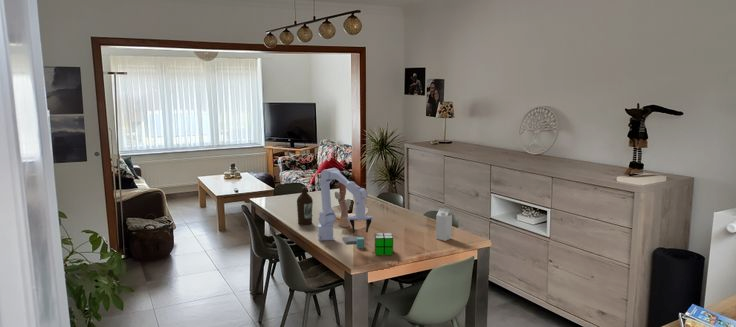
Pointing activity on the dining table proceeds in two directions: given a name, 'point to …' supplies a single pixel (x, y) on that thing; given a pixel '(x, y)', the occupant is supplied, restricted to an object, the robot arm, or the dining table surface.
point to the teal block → (360, 242)
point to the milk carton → (443, 224)
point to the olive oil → (304, 208)
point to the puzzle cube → (383, 244)
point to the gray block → (350, 239)
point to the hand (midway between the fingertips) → (360, 232)
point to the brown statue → (343, 205)
